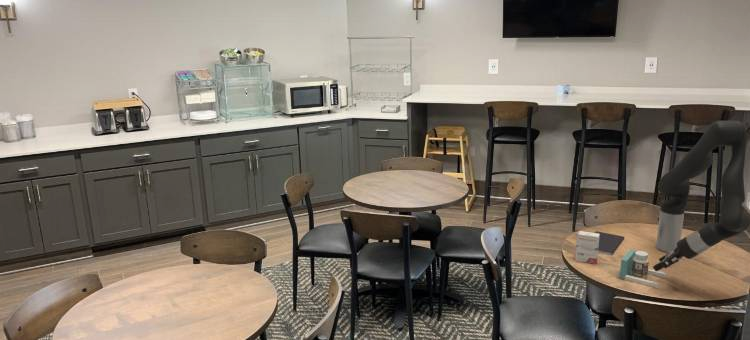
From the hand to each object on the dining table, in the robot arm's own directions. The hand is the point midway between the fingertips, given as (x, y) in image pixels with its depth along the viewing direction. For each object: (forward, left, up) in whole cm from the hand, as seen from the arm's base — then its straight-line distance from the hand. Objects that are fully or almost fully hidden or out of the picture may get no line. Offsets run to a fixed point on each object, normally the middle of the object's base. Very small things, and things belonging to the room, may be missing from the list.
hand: (657, 265), depth 229 cm
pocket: (-3, -4, -7) cm, 8 cm away
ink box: (-19, -21, -7) cm, 29 cm away
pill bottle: (-4, -5, -7) cm, 9 cm away
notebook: (-36, -9, -7) cm, 38 cm away
